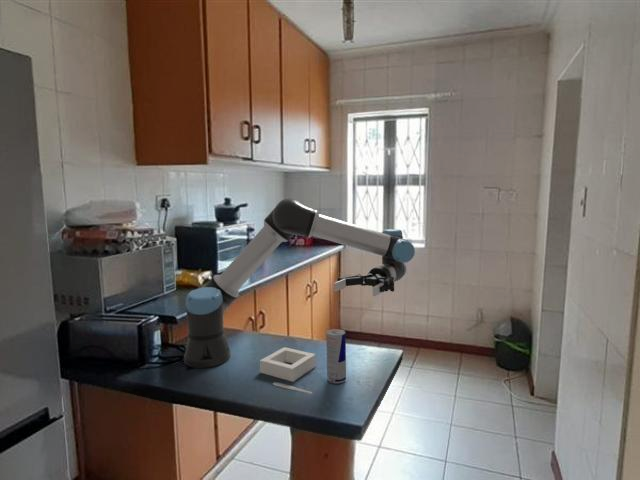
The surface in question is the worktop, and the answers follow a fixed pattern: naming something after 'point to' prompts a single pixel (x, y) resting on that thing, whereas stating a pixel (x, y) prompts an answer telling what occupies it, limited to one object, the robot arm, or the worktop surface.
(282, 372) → the socket block
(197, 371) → the worktop surface
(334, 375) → the beverage can
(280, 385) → the butter knife
